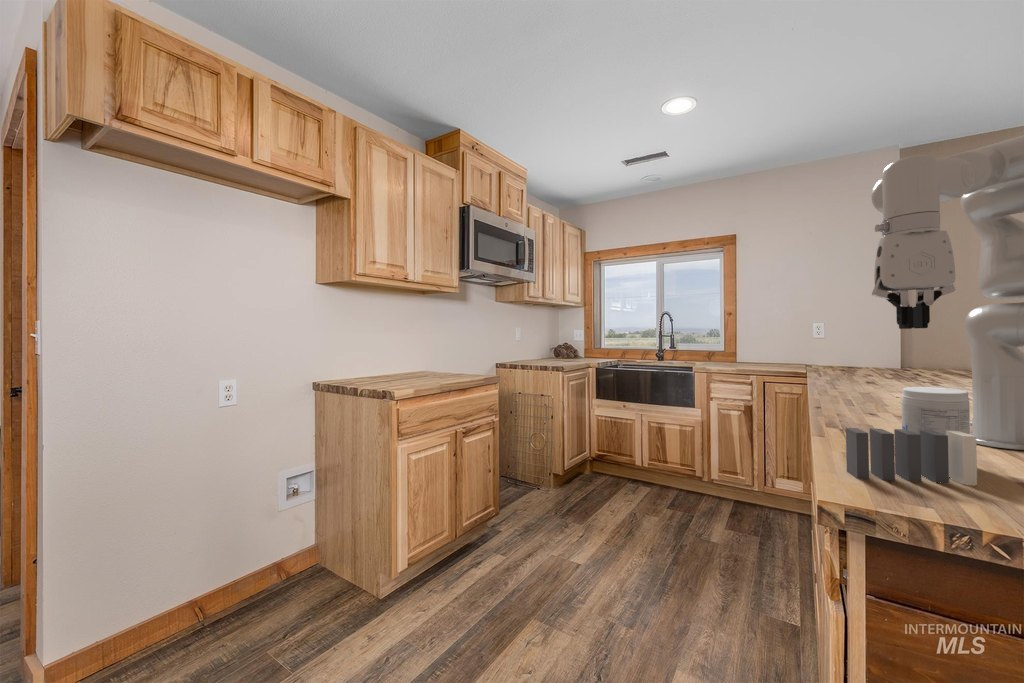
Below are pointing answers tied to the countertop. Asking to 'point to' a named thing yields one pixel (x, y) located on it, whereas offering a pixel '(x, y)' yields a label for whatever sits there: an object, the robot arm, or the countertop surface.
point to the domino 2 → (882, 454)
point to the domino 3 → (908, 454)
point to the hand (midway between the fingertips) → (913, 327)
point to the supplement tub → (935, 409)
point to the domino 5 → (962, 457)
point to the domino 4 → (934, 456)
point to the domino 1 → (857, 453)
